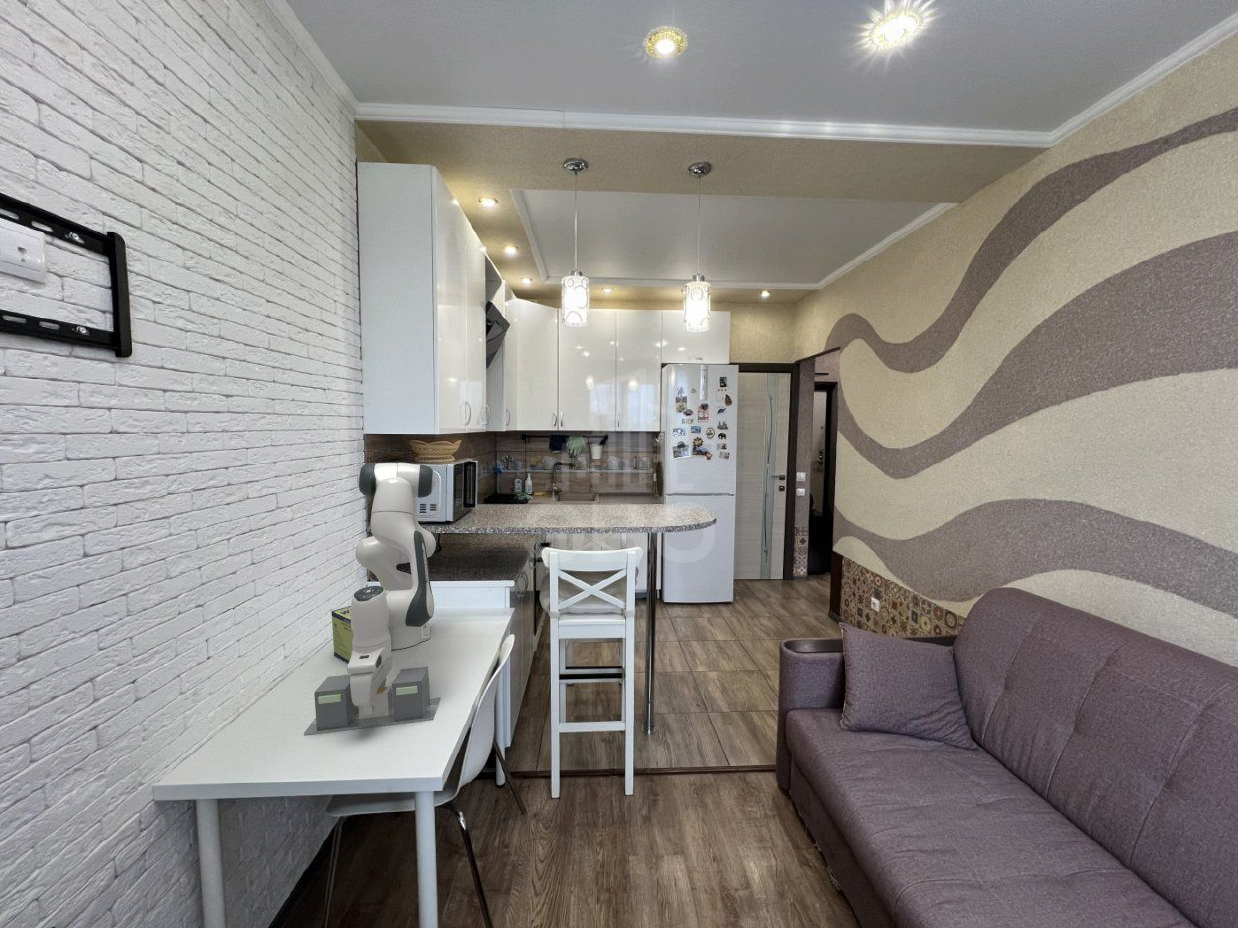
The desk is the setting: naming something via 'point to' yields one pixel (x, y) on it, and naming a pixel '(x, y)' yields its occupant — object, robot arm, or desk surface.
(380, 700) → the loose module
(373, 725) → the rail plate
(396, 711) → the block
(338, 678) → the block
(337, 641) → the protein box
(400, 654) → the desk surface
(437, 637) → the desk surface
